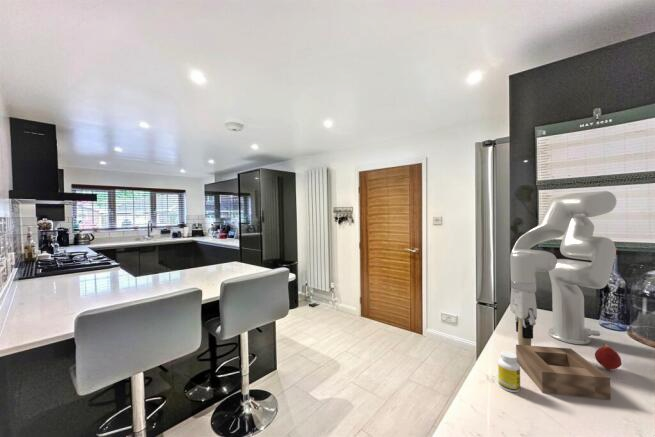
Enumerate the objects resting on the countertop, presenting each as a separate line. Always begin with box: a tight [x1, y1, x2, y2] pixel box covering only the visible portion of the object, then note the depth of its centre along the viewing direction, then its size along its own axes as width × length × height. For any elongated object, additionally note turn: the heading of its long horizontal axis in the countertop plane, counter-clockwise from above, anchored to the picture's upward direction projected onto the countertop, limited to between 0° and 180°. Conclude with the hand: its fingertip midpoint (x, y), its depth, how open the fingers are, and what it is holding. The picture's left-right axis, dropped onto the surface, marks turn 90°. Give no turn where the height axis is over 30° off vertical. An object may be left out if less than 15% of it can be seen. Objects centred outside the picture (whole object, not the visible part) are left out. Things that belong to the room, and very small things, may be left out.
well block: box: [515, 344, 612, 401], centre depth 81 cm, size 16×16×6 cm
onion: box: [594, 344, 622, 371], centre depth 85 cm, size 6×6×8 cm
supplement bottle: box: [497, 350, 521, 393], centre depth 78 cm, size 5×5×10 cm
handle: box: [512, 310, 532, 346], centre depth 97 cm, size 5×6×15 cm
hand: (524, 334), depth 97 cm, fingers open, 4 cm apart
